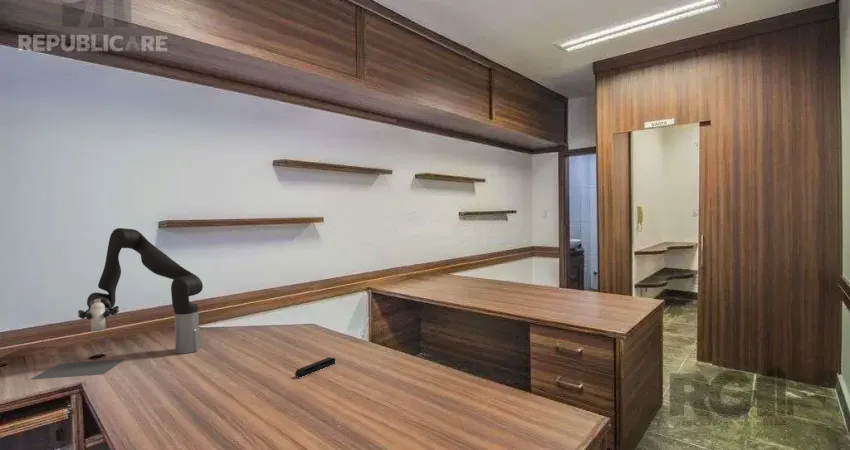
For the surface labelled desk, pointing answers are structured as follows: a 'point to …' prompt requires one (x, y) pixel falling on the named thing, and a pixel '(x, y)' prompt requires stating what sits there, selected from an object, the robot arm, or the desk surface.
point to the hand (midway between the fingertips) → (97, 316)
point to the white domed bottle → (97, 316)
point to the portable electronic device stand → (315, 366)
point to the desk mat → (79, 369)
